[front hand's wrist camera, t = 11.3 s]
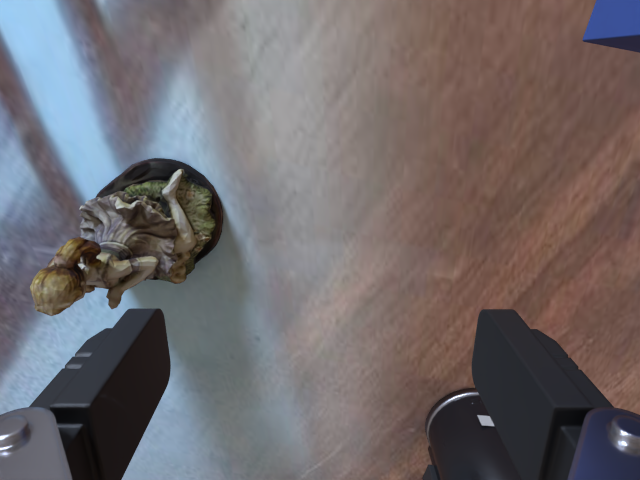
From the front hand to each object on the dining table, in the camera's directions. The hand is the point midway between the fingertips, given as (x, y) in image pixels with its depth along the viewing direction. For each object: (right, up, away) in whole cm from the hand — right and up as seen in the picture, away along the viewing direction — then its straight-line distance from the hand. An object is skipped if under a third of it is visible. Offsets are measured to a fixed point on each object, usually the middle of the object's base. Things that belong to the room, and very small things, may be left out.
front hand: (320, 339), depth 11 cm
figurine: (-14, +4, +28) cm, 32 cm away
